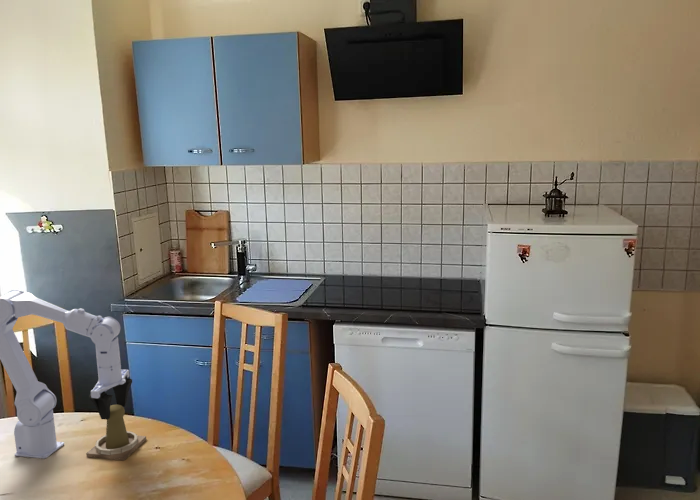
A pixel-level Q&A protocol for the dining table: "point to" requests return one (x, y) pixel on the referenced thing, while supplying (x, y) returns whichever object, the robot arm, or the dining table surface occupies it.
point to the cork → (116, 428)
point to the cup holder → (117, 453)
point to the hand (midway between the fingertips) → (113, 412)
